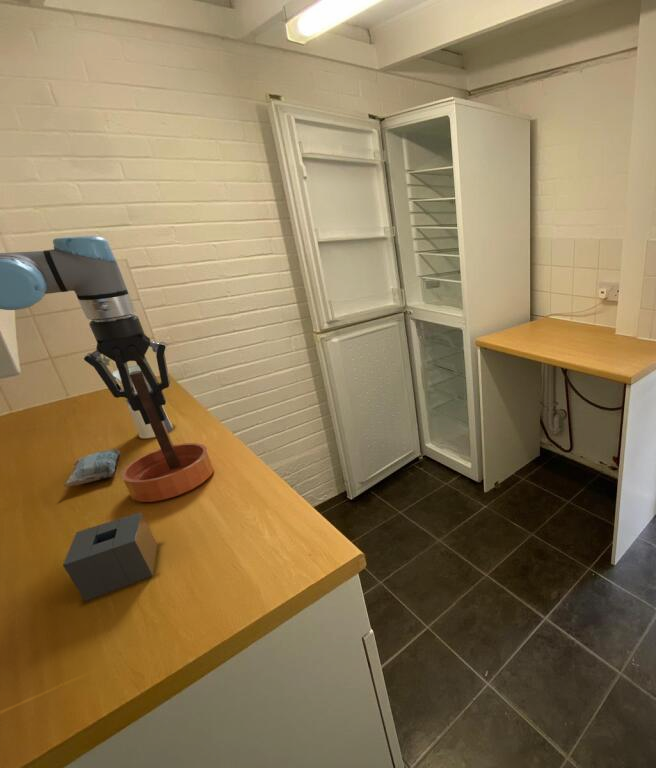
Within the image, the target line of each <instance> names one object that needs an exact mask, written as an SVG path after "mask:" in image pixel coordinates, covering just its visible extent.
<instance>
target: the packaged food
mask: <svg viewBox="0 0 656 768" xmlns="http://www.w3.org/2000/svg"><path fill="white" fill-rule="evenodd" d="M120 457H121V450H119V449H109V450H101V451H96V452H94V453H91V454H90V453H89V454H88V455H86V456H83V457H81V458H79V459H77V460H76V461H75V462H74V468H73V471H72V473H71V474H70V476H69V477H68V479H67V481H66V483H63V487H71V486H79V485H84V484H89V483H92V482H97V481H101V480H105V479H109V478H112V477H115V475H116V472H117V467H118V463H119V462H120Z"/></svg>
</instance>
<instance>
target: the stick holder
mask: <svg viewBox="0 0 656 768" xmlns="http://www.w3.org/2000/svg"><path fill="white" fill-rule="evenodd" d="M70 544H71V545H70V546H69V549H68V552H67V553H66V556H65V559H64V561H63V563H62V567H63V569H64V570H65V572H66V573H67V575H68V576H69V578H70V579H71V581H72V583H73V584H74V586H75V588H76V589H77V591H78V592H79V594H80V596H81V597H82V599H83V600H84V602H87V601H90V600H93V599H96V598H98V597H100V596H104V595H105V594H108V593H111V592H113V591H117V590H119V589H123V588H125V587H127V586H130V585H132V584H135V583H138V582H141V581H142V580H146V579H148V578H151V577H153V575H154V569H155V563H156V557H157V551H158V543H157V541H156V539H155V537H154V535H153V533H152V531H151V528H150V527H149V524H148V523H147V520H146V519H145V516H144V514H143V512H142V511H140V512H137V513H132V514H130V515H127V516H124V517H120V518H117V519H114V520H111V521H108V522H104V523H101V524H98V525H93V526H92V527H88V528H85V529H82V530H78V531H76V532H75V534H74V537H73V539H72V542H71V543H70Z"/></svg>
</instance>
